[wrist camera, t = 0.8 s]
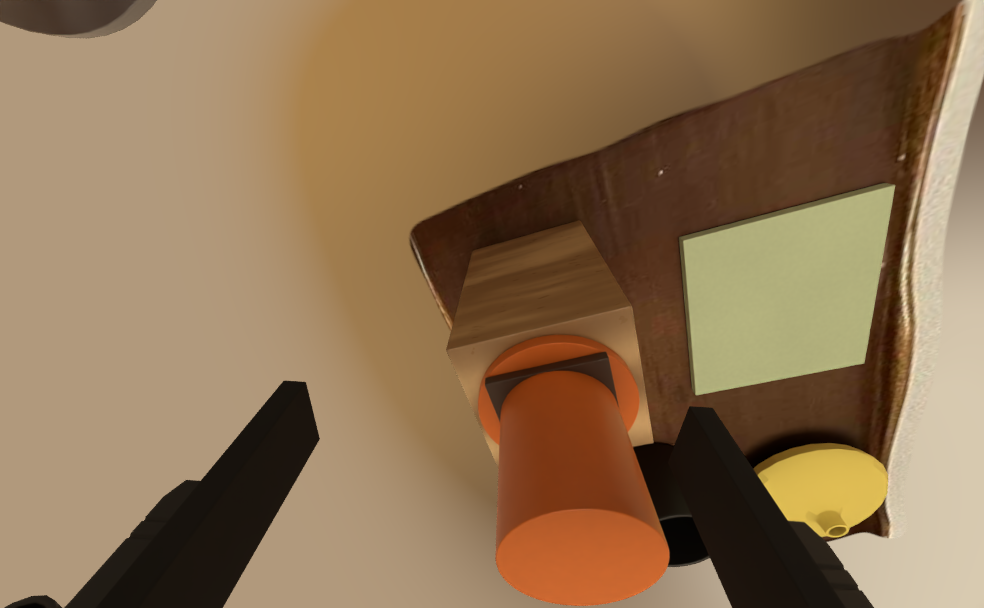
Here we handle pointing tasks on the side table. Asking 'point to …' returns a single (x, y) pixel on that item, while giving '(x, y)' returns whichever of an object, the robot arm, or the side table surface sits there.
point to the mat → (784, 290)
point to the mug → (670, 506)
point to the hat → (570, 474)
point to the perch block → (541, 309)
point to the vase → (825, 485)
